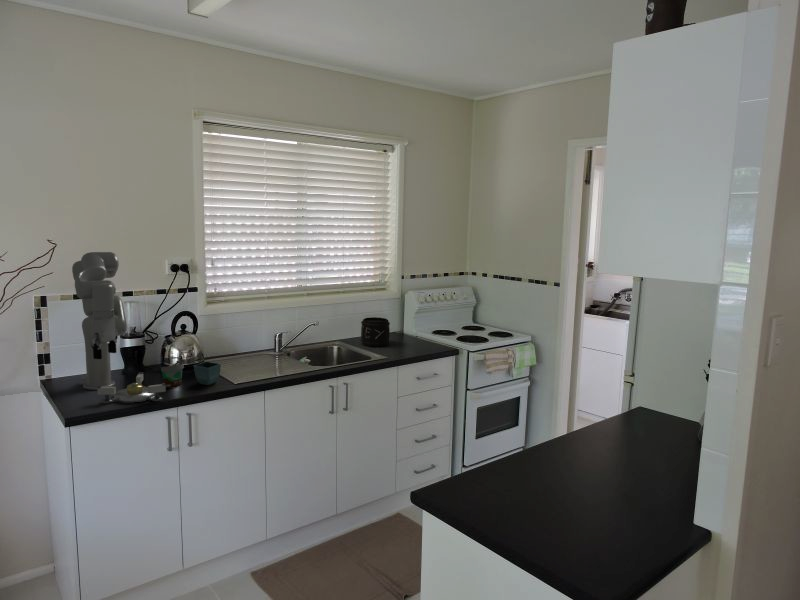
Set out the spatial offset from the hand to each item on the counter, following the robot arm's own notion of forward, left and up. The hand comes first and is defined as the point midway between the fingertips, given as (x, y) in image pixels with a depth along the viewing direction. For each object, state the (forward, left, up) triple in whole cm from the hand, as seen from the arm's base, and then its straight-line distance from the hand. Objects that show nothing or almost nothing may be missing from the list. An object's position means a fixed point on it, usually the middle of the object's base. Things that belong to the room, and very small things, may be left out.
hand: (105, 355), depth 231 cm
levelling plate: (+8, +9, -19) cm, 23 cm away
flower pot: (+22, +37, -20) cm, 47 cm away
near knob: (0, 0, -18) cm, 18 cm away
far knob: (+17, +9, -18) cm, 26 cm away
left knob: (0, +19, -18) cm, 26 cm away
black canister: (+67, +145, -20) cm, 161 cm away
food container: (+11, +29, -20) cm, 37 cm away
